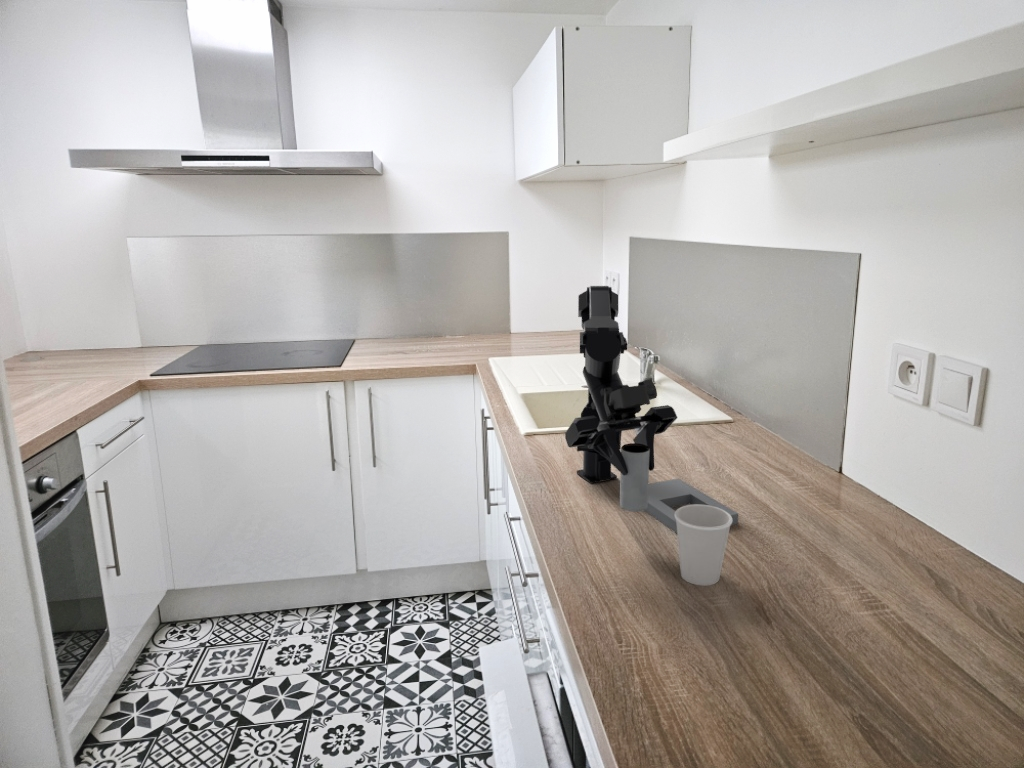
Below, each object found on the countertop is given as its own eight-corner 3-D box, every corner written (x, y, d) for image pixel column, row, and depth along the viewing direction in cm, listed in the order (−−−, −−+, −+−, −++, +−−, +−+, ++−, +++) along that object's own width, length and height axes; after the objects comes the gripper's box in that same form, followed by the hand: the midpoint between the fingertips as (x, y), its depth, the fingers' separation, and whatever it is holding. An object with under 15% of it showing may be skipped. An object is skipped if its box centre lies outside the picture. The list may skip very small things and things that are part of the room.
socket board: (626, 497, 133) (626, 487, 132) (678, 487, 137) (678, 478, 137) (680, 536, 117) (681, 525, 116) (737, 523, 121) (738, 513, 120)
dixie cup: (691, 556, 110) (694, 499, 107) (739, 576, 104) (743, 515, 101) (660, 575, 104) (663, 515, 102) (708, 597, 98) (712, 533, 96)
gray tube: (628, 498, 116) (630, 441, 113) (652, 505, 113) (654, 446, 111) (614, 507, 113) (615, 448, 110) (638, 514, 110) (640, 454, 107)
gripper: (573, 370, 107) (606, 458, 100) (673, 358, 114) (711, 441, 107) (552, 405, 116) (581, 488, 109) (646, 392, 123) (679, 471, 116)
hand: (639, 471), depth 110 cm, fingers closed on gray tube, 4 cm apart
